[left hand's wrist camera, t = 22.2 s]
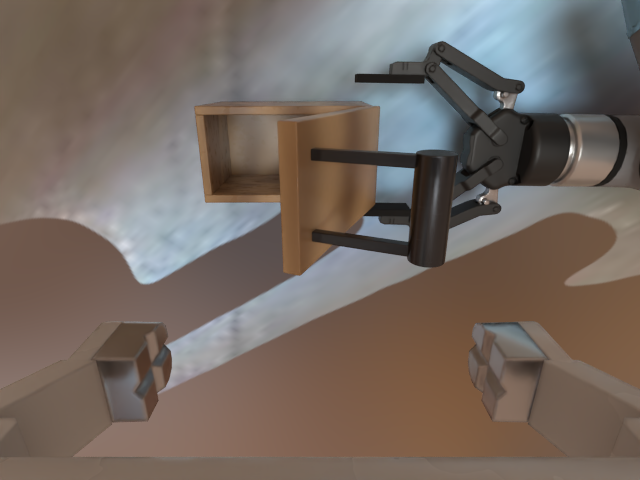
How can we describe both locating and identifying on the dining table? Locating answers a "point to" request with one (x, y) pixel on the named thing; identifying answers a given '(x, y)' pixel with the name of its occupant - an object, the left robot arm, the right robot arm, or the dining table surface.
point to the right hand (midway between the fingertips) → (352, 147)
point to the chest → (248, 146)
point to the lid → (355, 189)
